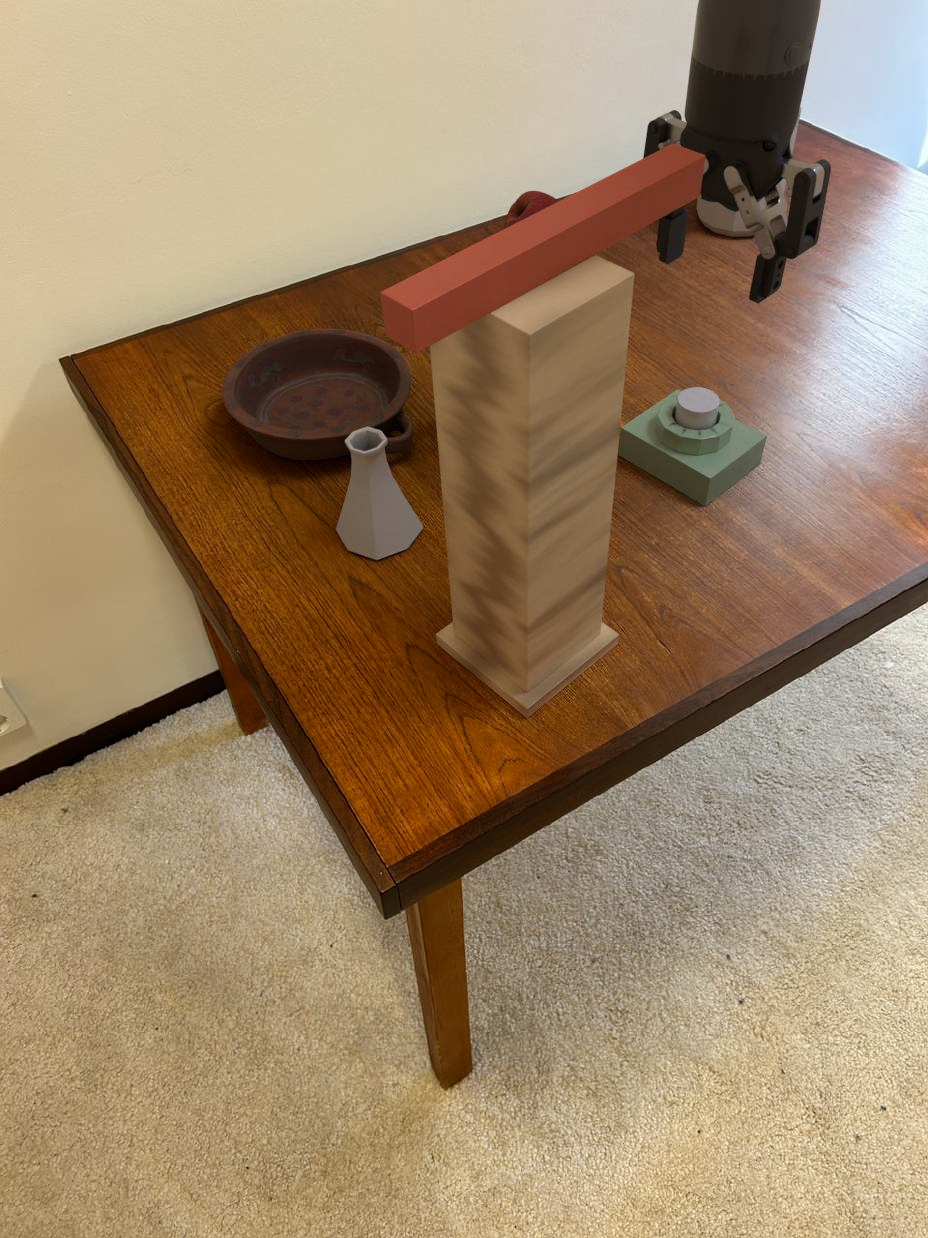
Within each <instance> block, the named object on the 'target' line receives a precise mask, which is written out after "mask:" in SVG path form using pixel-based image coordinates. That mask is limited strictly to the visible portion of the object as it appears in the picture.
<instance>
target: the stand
mask: <svg viewBox="0 0 928 1238" xmlns="http://www.w3.org/2000/svg"><path fill="white" fill-rule="evenodd" d="M635 276H636V274H635V272H634V271H631V270H629V269H627V268H624V267H623V266H620V265H618V264H616V263H614V262H612V261H609V260H607V259H605V258H603V257H601V256H599V255H597V254H595V255H593V256H591V257H590V258H588V259H586V260H584V261H582V262H581V263H579V264H577V265H575V266H573V267H572V268H570V269H568V270H566V271H564V272H563V273H561V274H559V275H557V276H555V277H554V278H552V279H550V280H548V281H546V282H545V283H543V284H541V285H539V286H537V287H535V288H534V289H532V290H530V291H528V292H526V293H525V294H523V295H521V296H519V297H517V298H516V299H514V300H512V301H510V302H508V303H507V304H505V305H503V306H501V307H499V308H498V309H496V310H494V311H492V312H490V313H489V314H487V315H485V316H483V317H481V318H480V319H478V320H476V321H474V322H472V323H471V324H469V325H467V326H465V327H463V328H462V329H460V330H458V331H456V332H454V333H452V334H451V335H449V336H447V337H445V338H443V339H442V340H440V341H438V342H436V343H434V344H433V345H431V346H429V351H430V353H429V354H430V367H431V377H432V379H431V380H432V391H433V402H434V411H435V412H434V414H435V425H436V426H435V427H436V436H437V450H438V461H439V462H438V463H439V473H440V487H441V497H442V508H443V509H442V511H443V519H444V532H445V544H446V545H445V546H446V555H447V566H448V569H447V570H448V580H449V581H448V582H449V591H450V592H449V593H450V605H451V616H452V617H451V618H452V621H451V622H450V623H448V625H446V626H444V628H442V629H441V630H439V631H437V632H436V633H435V642H436V645H437V646H439V647H440V648H441V649H442V650H443V651H444V652H446V653H447V654H448V655H450V656H451V657H452V658H453V659H454V660H455V661H457V662H458V663H459V664H460V665H462V666H463V667H464V668H465V669H467V670H468V671H469V672H470V673H471V674H472V675H474V676H475V677H476V678H478V679H479V680H480V681H481V682H482V683H484V685H486V686H487V687H488V688H489V689H491V690H492V691H493V692H494V693H496V694H497V695H498V696H499V697H500V698H501V699H503V700H504V701H506V703H508V704H509V705H510V706H511V707H512V708H514V709H515V710H516V711H517V712H519V714H521V715H522V716H523V717H524V718H526V719H528V718H529V717H530V716H532V715H533V714H534V713H536V712H537V711H538V710H540V709H541V708H542V707H543V706H544V705H545V704H547V703H548V702H549V701H551V700H552V699H553V698H554V697H555V696H557V694H559V693H560V692H562V691H563V690H564V689H565V688H566V687H567V686H569V685H570V684H571V683H573V682H574V681H575V680H576V679H577V678H579V677H580V676H581V675H582V674H583V673H584V672H586V671H587V670H588V669H589V668H591V667H592V666H593V665H594V664H596V663H597V662H598V661H599V660H601V659H602V658H603V657H605V656H606V655H607V654H608V653H609V652H611V651H612V650H613V649H614V648H616V646H618V644H619V640H620V634H619V633H618V632H617V631H615V630H614V629H613V628H612V627H610V626H608V625H607V624H606V623H604V622H603V612H604V601H605V592H606V581H607V569H608V559H609V550H610V549H609V548H610V541H611V539H610V538H611V528H612V517H613V507H614V497H615V496H614V495H615V485H616V477H617V476H616V475H617V464H618V456H619V455H618V454H619V443H620V433H621V422H622V412H623V402H624V401H623V400H624V392H625V391H624V390H625V381H626V371H627V360H628V358H627V357H628V348H629V337H630V327H631V317H632V306H633V296H634V286H635Z"/></svg>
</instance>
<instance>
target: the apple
mask: <svg viewBox="0 0 928 1238" xmlns="http://www.w3.org/2000/svg"><path fill="white" fill-rule="evenodd" d="M559 201H560V200H558V199H557V198H556V197H553V196H552V195H550V194H548V193H545V192H543V191H539V190H528V191H525V192H523V193H522V194H520V195H519V197H518V198H517V199H516V200H515V201H514V202H513V204H512V205H511V206H510V208H509V210H508V212H507V215H506V217H505V220H504V223H503V224H504V225H503V230H504V229H506V228H508V227H510V226H511V225H513V224H515V223H517V222H519V221H521V220H523V219H525V218H527V217H529V216H531V215H533V214H535V213H537V212H539V211H541V210H543V209H545V208H547V207H549V206H551V205H553V204H555V203H557V202H559Z"/></svg>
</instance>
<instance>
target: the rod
mask: <svg viewBox="0 0 928 1238" xmlns="http://www.w3.org/2000/svg"><path fill="white" fill-rule="evenodd" d="M704 164H705V155H703V154H701V153H698V152H695V151H692V150H690V149H687V148H684V147H681V146H679V145H676V144H671V145H669V146H667V147H665V148H663V149H661V150H659V151H657V152H655V153H653V154H651V155H649V156H647V157H645V158H643V157H642V158H641V159H639V160H638V161H635V162H634V163H632V164H629V165H628V166H625V167H623V168H622V169H620V170H618V171H616V172H614V173H612V174H610V175H608V176H606V177H604V178H602V179H600V180H598V181H596V182H594V183H591V184H590V185H588V186H586V187H585V188H582V189H581V190H578V191H577V192H575V193H572V194H571V195H569V196H567V197H565V198H562V199H561V200H558V201H559V202H557V203H555V204H553V205H551V206H549V207H547V208H545V209H543V210H541V211H539V212H537V213H535V214H533V215H531V216H529V217H527V218H525V219H523V220H521V221H519V222H517V223H515V224H513V225H511V226H510V227H508V228H506V229H504V228H503V229H502V230H500V231H498V232H496V233H494V234H491V235H490V236H488V237H486V238H484V239H481V240H480V241H478V242H476V243H474V244H472V245H470V246H468V247H466V248H464V249H462V250H461V251H458V252H456V253H455V254H453V255H450V256H449V257H446V258H445V259H442V260H440V261H439V262H437V263H435V264H433V265H431V266H429V267H427V268H425V269H422V270H421V271H419V272H417V273H415V274H413V275H411V276H410V277H408V278H405V279H403V280H401V281H400V282H397V283H395V284H393V285H392V286H390V287H388V288H385V289H384V290H382V291H380V292H379V293H380V300H381V311H382V318H383V326H384V327H383V328H384V335H385V336H386V337H388V338H389V339H391V340H393V341H394V342H396V343H398V344H399V345H401V346H403V347H404V348H406V349H407V350H409V351H411V352H412V353H414V354H418V353H420V352H422V351H423V350H425V349H427V348H430V346H431V345H433V344H434V343H436V342H438V341H440V340H442V339H443V338H445V337H447V336H449V335H451V334H452V333H454V332H456V331H458V330H460V329H462V328H463V327H465V326H467V325H469V324H471V323H472V322H474V321H476V320H478V319H480V318H481V317H483V316H485V315H487V314H489V313H490V312H492V311H494V310H496V309H498V308H499V307H501V306H503V305H505V304H507V303H508V302H510V301H512V300H514V299H516V298H517V297H519V296H521V295H523V294H525V293H526V292H528V291H530V290H532V289H534V288H535V287H537V286H539V285H541V284H543V283H545V282H546V281H548V280H550V279H552V278H554V277H555V276H557V275H559V274H561V273H563V272H564V271H566V270H568V269H570V268H572V267H573V266H575V265H577V264H579V263H581V262H582V261H584V260H586V259H588V258H590V257H591V256H593V255H597V254H598V253H600V252H602V251H604V250H606V249H608V248H609V247H611V246H613V245H615V244H617V243H618V242H621V241H622V240H624V239H625V238H628V237H630V236H631V235H633V234H635V233H637V232H638V231H640V230H642V229H644V228H646V227H648V226H649V225H651V224H653V223H655V222H656V221H659V219H660V218H662V217H664V216H665V215H667V214H669V213H671V212H673V211H674V210H676V209H678V208H680V207H682V206H683V205H684V206H685V204H686V205H687V204H689V203H691V202H692V201H694V200H697V199H698V197H699V196H700V192H701V185H702V178H703V171H704Z"/></svg>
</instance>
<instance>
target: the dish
mask: <svg viewBox="0 0 928 1238" xmlns="http://www.w3.org/2000/svg"><path fill="white" fill-rule="evenodd" d="M411 387H412V374H411V369H410V366H409V364H408V361H407V358H405V356H404V355H403V354H402V353H401V351H400V350H399V349H397V348H396V347H394V346H393V345H392V344H391V343H389V342H387V341H385V340H383V339H381V338H379V337H377V336H374V335H371V334H368V333H365V332H359V331H354V330H349V329H343V328H342V329H341V328H311V329H304V330H298V331H293V332H290V333H287V334H284V335H281V336H277V337H275V338H272V339H270V340H268V341H265V342H263V343H261V344H257V345H256V346H254V347H252V348H250V349H248V350H247V351H246V352H245V353H244V354H242V356H240V358H238V359H237V360H236V361H235V363H234V364H233V365H232V366H231V367H230V369H229V370H228V372H227V374H226V375H225V378H224V380H223V385H222V387H221V399H222V403H223V406H224V408H226V409H225V410H226V411H227V413H228V415H230V416H231V417H232V419H234V420H235V421H236V422H237V423H238V424H240V425H242V427H243V428H244V430H246V432H247V433H248V434H249V435H250V437H251V438H252V439H253V440H254V441H255V442H256V443H258V444H259V445H260V447H262V448H264V449H265V450H266V451H268V452H271V453H272V454H274V455H276V456H279V457H282V458H285V459H288V460H289V459H290V460H295V461H320V460H322V461H323V460H332V459H336V458H340V457H344V456H348V455H351V452H350V450H349V449H348V447H347V446H346V444H345V440H346V439H347V438H348V436H349V435H350V434H351V433H352V432H353V431H356V430H359V429H362V428H365V427H371V428H374V429H378V430H381V431H382V433H383V434H384V435H385V437H386V436H387V435H388V434H389V433H391V432H394V431H395V432H399V433H401V434H400V435H399V436H394V437H393V436H392V437H389V436H388V437H386V438H387V441H388V443H387V445H386V446H385V454H386V455H396V454H401V453H403V452H405V451H407V450H408V449H410V447H411V446H412V444H413V438H414V430H415V429H414V428H415V427H414V424H413V422H412V420H411V418H410V417H409V416H408V414H406V413H405V412H404V409H403V407H404V405H405V404H406V401H407V400H408V398H409V396H410V393H411V389H412V388H411Z"/></svg>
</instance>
